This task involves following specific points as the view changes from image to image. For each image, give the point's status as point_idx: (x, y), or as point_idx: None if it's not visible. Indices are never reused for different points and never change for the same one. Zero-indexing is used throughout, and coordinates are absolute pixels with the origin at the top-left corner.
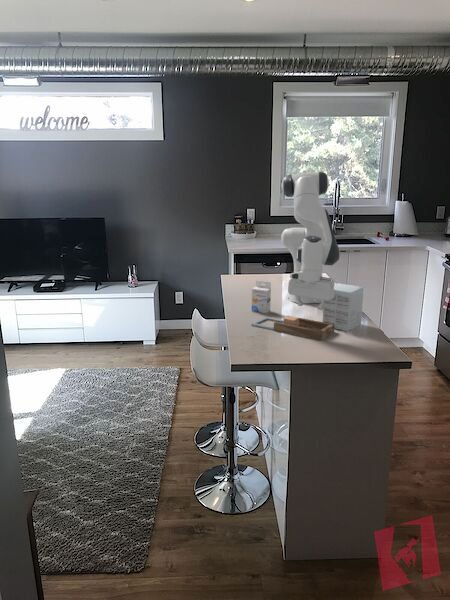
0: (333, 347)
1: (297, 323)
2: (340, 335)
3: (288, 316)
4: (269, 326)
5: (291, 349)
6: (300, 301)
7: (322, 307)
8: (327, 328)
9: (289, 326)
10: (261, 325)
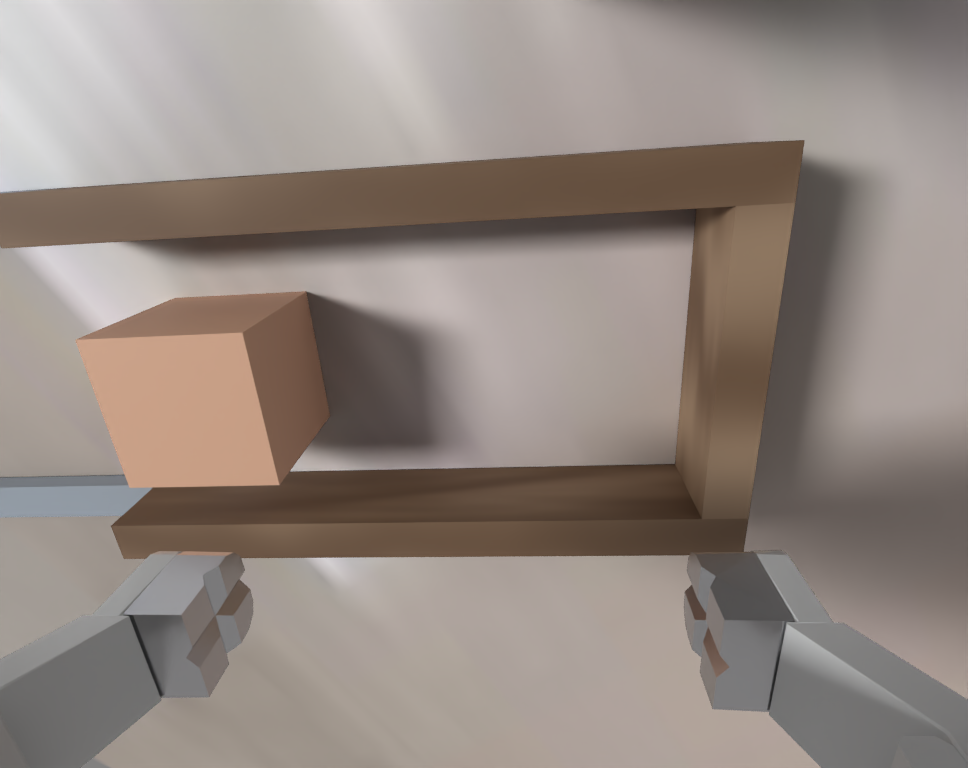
0: (887, 584)
1: (285, 352)
2: (871, 218)
3: (95, 375)
4: (85, 488)
5: (586, 757)
6: (142, 650)
7: (794, 583)
8: (765, 393)
9: (325, 553)
10: (11, 505)
